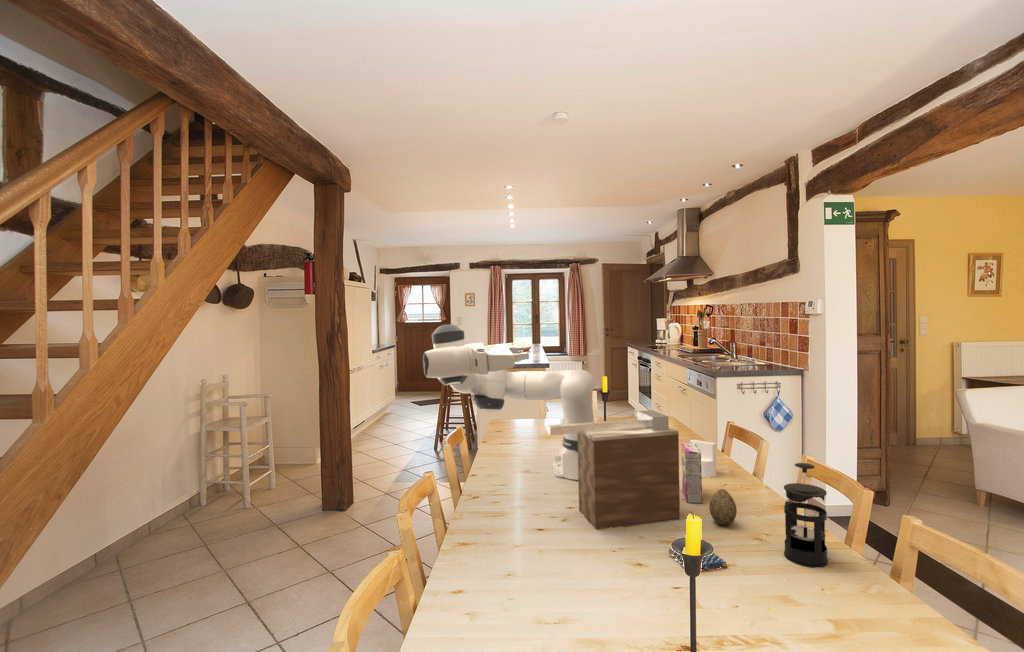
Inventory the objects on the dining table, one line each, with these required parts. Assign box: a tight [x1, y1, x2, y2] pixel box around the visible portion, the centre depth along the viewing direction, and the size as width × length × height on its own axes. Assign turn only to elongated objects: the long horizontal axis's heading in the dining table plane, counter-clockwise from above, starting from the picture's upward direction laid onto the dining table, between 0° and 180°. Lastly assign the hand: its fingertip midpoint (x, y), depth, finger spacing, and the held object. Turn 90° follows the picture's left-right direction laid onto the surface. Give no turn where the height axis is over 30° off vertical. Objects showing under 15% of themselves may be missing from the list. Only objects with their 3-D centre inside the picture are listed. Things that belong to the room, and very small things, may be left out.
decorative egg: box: [709, 488, 738, 526], centre depth 143 cm, size 7×7×10 cm
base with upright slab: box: [689, 439, 717, 479], centre depth 187 cm, size 9×9×12 cm
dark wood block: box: [577, 426, 681, 530], centre depth 151 cm, size 14×26×26 cm, turn 102°
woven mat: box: [668, 548, 728, 572], centre depth 123 cm, size 10×11×2 cm
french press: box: [783, 462, 829, 569], centre depth 123 cm, size 12×9×23 cm
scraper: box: [547, 409, 670, 436], centre depth 149 cm, size 10×35×4 cm, turn 102°
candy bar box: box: [680, 442, 703, 504], centre depth 164 cm, size 11×5×16 cm, turn 168°
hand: (525, 352), depth 148 cm, fingers open, 8 cm apart
